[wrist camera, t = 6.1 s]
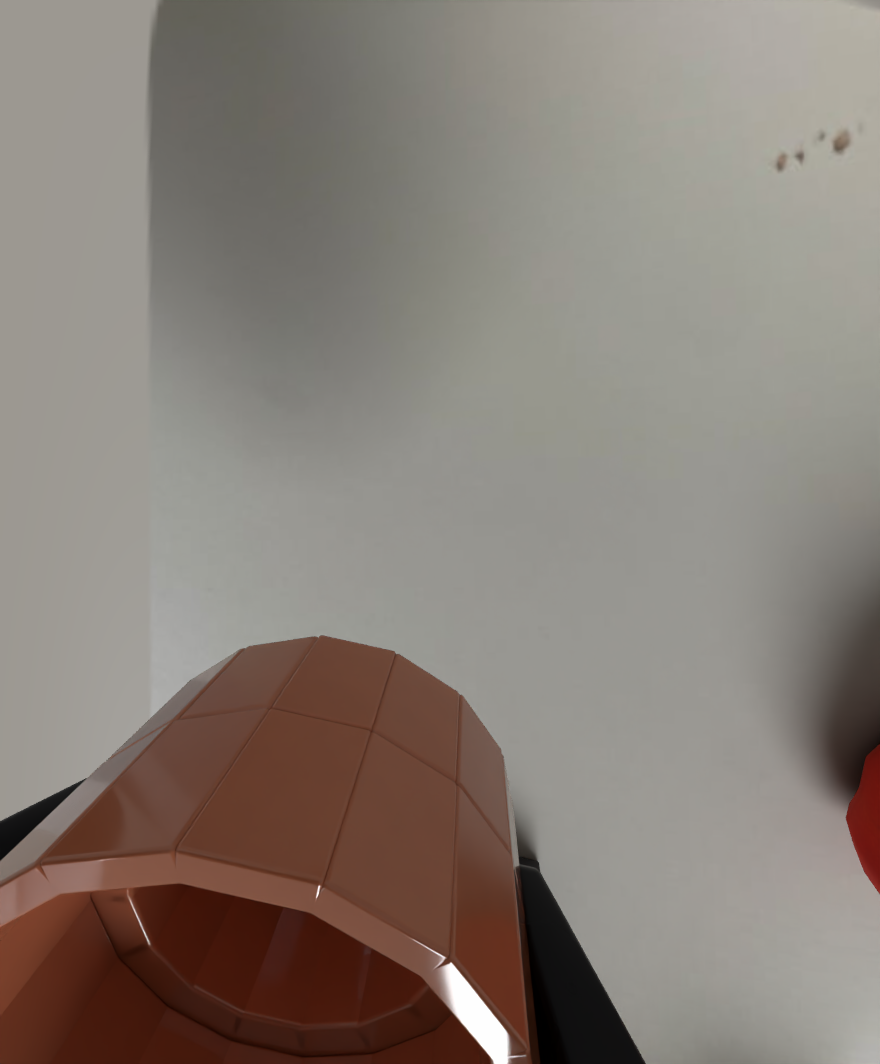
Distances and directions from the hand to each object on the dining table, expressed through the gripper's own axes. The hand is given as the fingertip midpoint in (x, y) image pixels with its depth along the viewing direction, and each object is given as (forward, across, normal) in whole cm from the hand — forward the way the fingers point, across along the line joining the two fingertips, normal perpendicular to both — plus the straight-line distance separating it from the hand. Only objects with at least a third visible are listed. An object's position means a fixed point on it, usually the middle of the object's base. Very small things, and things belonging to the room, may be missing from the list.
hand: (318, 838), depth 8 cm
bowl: (+1, 0, 0) cm, 1 cm away
